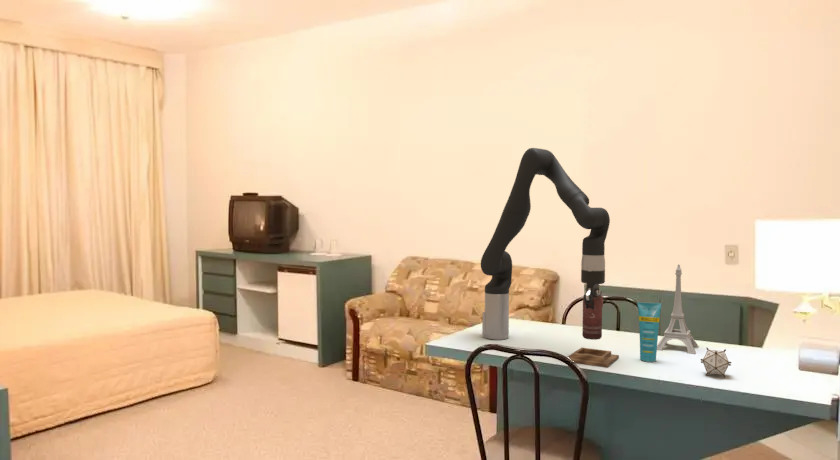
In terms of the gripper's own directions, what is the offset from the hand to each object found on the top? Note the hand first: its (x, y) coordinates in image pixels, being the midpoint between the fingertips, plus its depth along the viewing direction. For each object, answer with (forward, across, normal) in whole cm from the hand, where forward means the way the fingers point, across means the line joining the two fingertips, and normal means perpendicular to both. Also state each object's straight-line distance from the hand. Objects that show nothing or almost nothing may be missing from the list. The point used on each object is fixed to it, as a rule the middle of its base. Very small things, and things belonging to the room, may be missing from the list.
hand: (592, 321), depth 208 cm
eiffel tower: (+13, -33, +21) cm, 41 cm away
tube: (+13, -9, +16) cm, 23 cm away
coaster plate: (+13, 0, 0) cm, 13 cm away
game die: (+13, -1, +37) cm, 39 cm away
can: (+6, 0, 0) cm, 6 cm away
